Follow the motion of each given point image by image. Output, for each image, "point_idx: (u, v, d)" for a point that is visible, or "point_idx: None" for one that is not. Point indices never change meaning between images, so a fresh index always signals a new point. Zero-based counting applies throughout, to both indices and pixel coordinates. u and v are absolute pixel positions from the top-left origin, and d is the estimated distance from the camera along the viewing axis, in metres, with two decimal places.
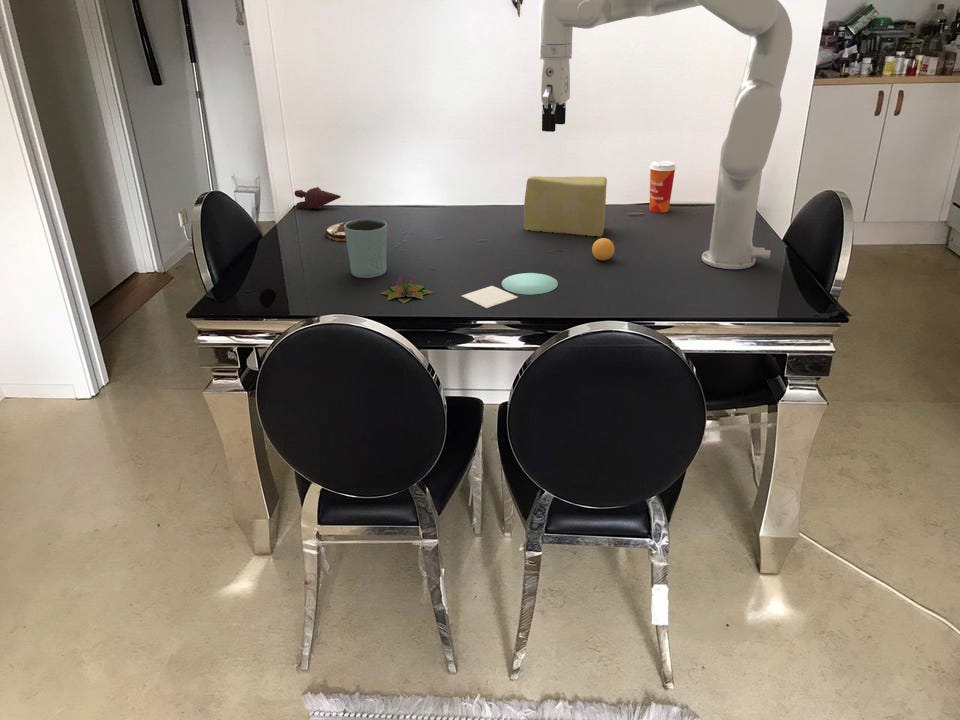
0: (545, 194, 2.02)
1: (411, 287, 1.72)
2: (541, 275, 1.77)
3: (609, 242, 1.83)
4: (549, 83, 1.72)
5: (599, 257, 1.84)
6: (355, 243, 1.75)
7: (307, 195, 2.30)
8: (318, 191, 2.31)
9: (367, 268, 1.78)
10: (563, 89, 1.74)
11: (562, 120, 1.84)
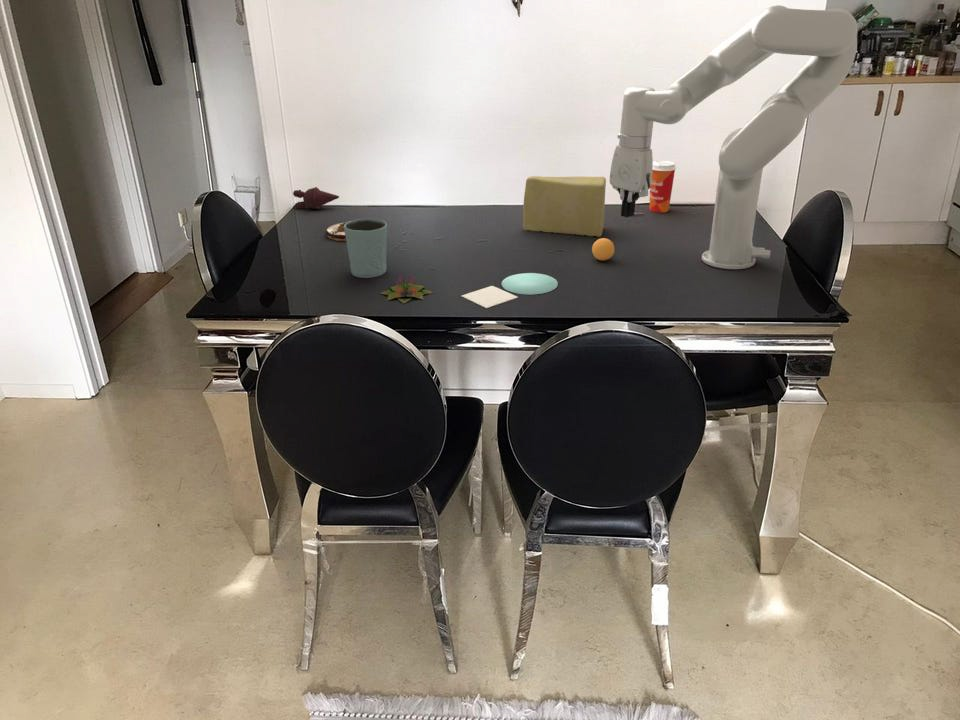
0: (544, 194, 2.02)
1: (411, 287, 1.72)
2: (541, 275, 1.77)
3: (609, 242, 1.83)
4: None
5: (599, 257, 1.84)
6: (355, 243, 1.75)
7: (306, 195, 2.30)
8: (316, 191, 2.31)
9: (367, 268, 1.78)
10: (616, 173, 1.83)
11: None
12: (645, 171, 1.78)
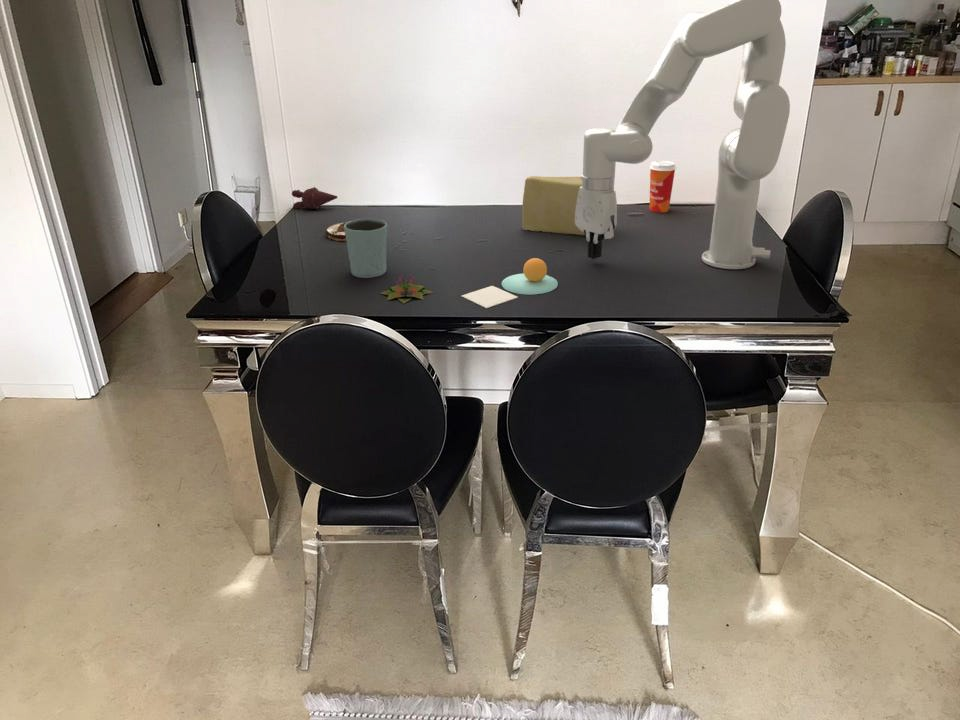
0: (543, 194, 2.02)
1: (411, 287, 1.72)
2: None
3: (532, 272, 1.71)
4: None
5: None
6: (355, 243, 1.75)
7: (304, 196, 2.30)
8: (315, 191, 2.30)
9: (367, 268, 1.78)
10: (580, 215, 1.80)
11: None
12: (609, 213, 1.74)
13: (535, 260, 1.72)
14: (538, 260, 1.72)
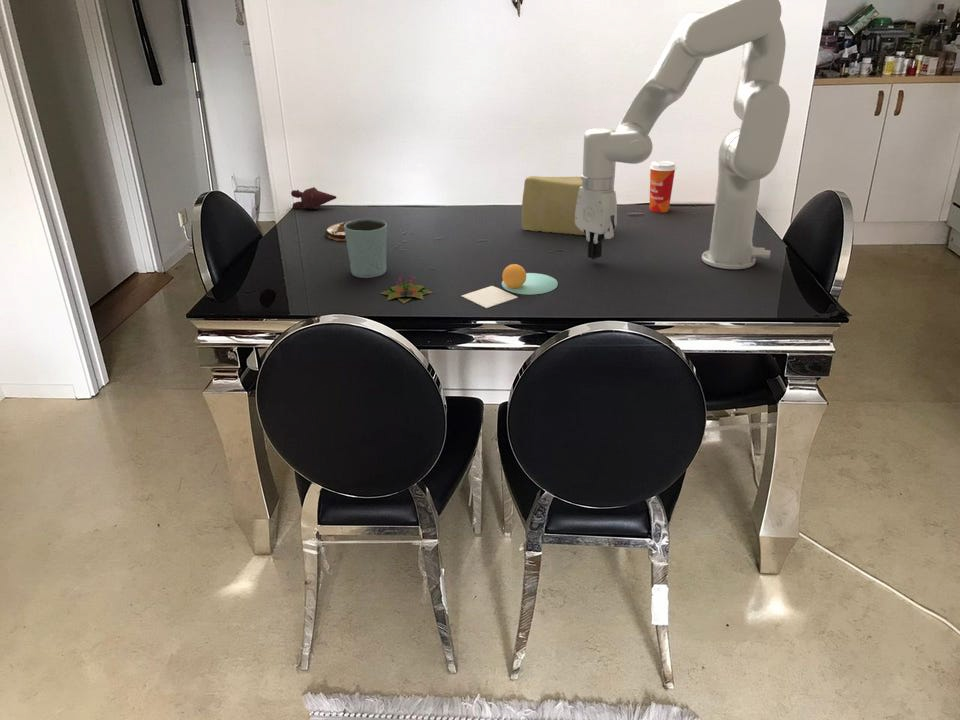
0: (542, 194, 2.02)
1: (411, 287, 1.72)
2: (541, 275, 1.77)
3: (522, 284, 1.70)
4: None
5: (519, 266, 1.69)
6: (355, 243, 1.75)
7: (303, 196, 2.30)
8: (314, 191, 2.30)
9: (367, 268, 1.78)
10: (580, 215, 1.80)
11: None
12: (609, 213, 1.74)
13: (510, 287, 1.70)
14: (509, 285, 1.69)
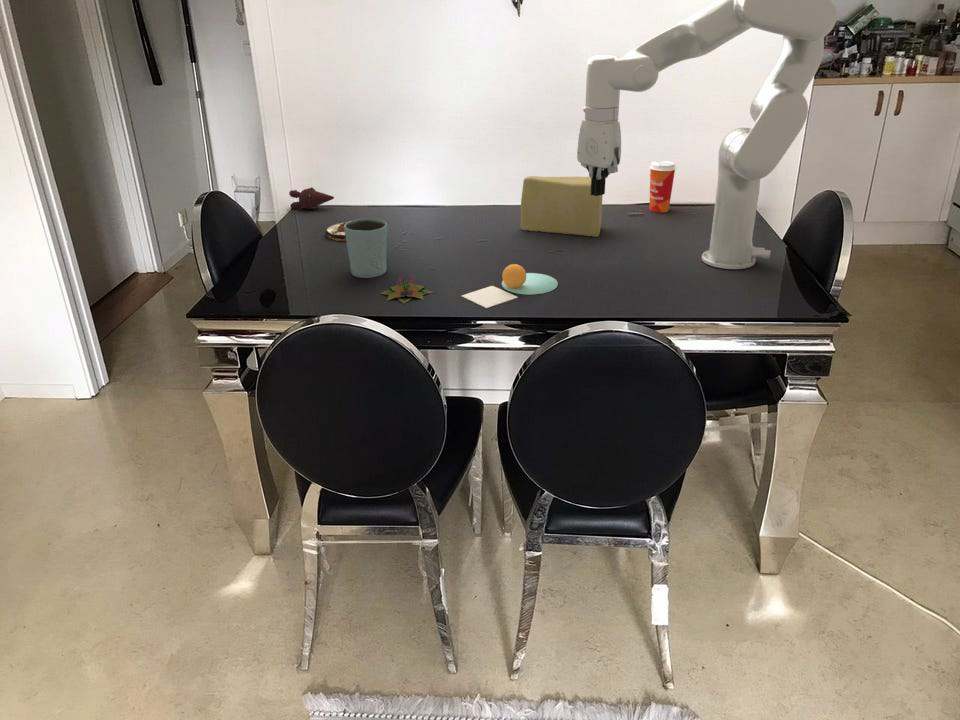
0: (541, 194, 2.02)
1: (411, 287, 1.72)
2: (541, 275, 1.77)
3: (522, 284, 1.70)
4: None
5: (519, 266, 1.69)
6: (355, 243, 1.75)
7: (301, 196, 2.30)
8: (312, 192, 2.30)
9: (367, 268, 1.78)
10: (583, 150, 1.72)
11: None
12: (613, 145, 1.67)
13: (510, 287, 1.70)
14: (509, 285, 1.69)
